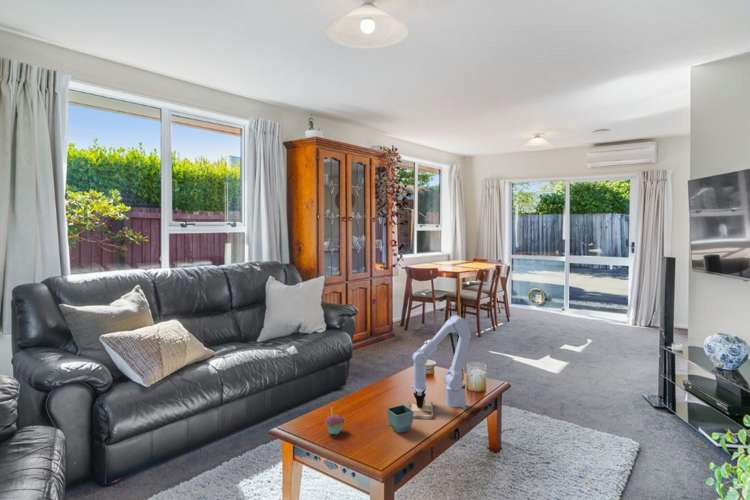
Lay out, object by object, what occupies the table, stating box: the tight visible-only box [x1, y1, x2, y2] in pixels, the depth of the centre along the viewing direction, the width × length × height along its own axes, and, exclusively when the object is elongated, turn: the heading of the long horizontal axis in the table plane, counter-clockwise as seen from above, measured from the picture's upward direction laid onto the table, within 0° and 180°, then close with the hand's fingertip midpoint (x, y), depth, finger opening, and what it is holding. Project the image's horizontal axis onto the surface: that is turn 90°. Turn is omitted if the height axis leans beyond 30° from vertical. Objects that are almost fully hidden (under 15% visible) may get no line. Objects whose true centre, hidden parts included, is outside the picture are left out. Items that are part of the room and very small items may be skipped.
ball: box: [414, 398, 426, 406], centre depth 218 cm, size 5×5×5 cm
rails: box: [406, 400, 434, 420], centre depth 213 cm, size 12×17×2 cm
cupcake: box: [324, 406, 345, 435], centre depth 195 cm, size 9×8×12 cm
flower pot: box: [386, 404, 414, 434], centre depth 195 cm, size 9×9×9 cm
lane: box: [409, 403, 431, 412], centre depth 213 cm, size 12×17×1 cm
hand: (420, 405), depth 218 cm, fingers open, 6 cm apart
